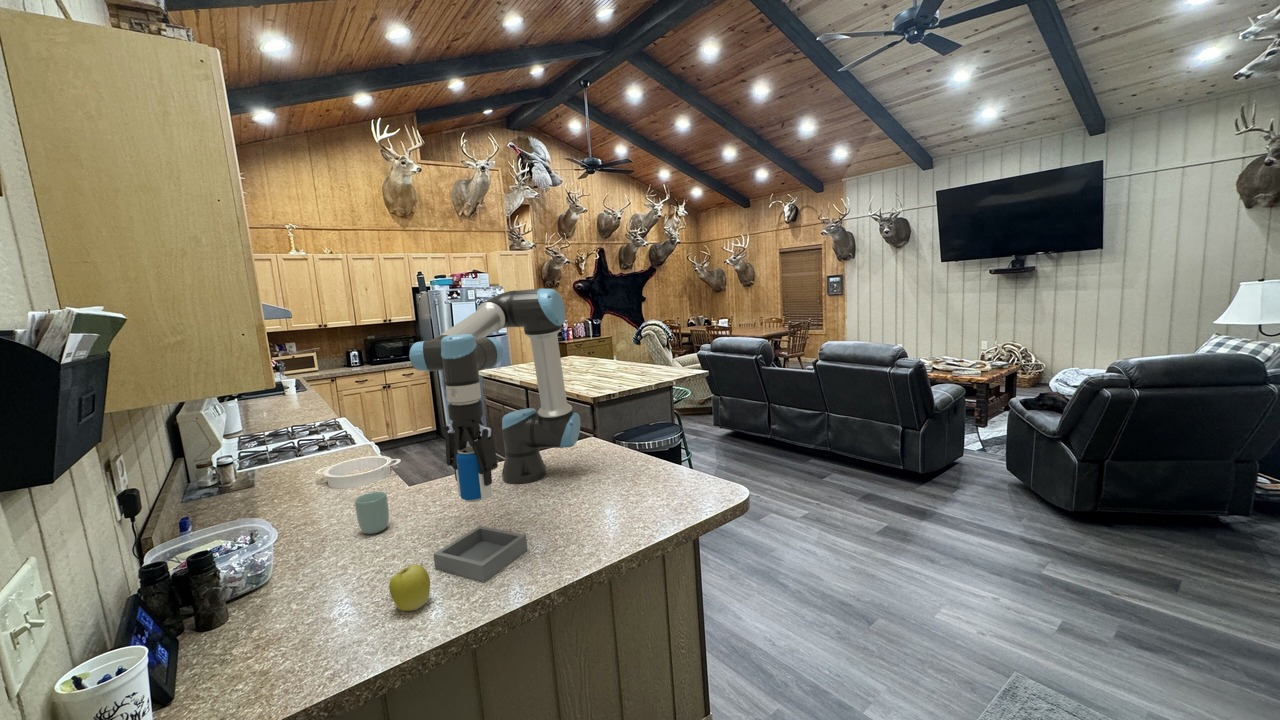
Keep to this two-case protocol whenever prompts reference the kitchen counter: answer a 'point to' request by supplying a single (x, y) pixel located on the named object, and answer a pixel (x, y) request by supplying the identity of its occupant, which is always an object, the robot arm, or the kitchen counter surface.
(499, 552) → the bin
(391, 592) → the apple
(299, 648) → the kitchen counter surface
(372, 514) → the cup
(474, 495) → the beverage can
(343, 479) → the oval baking dish
